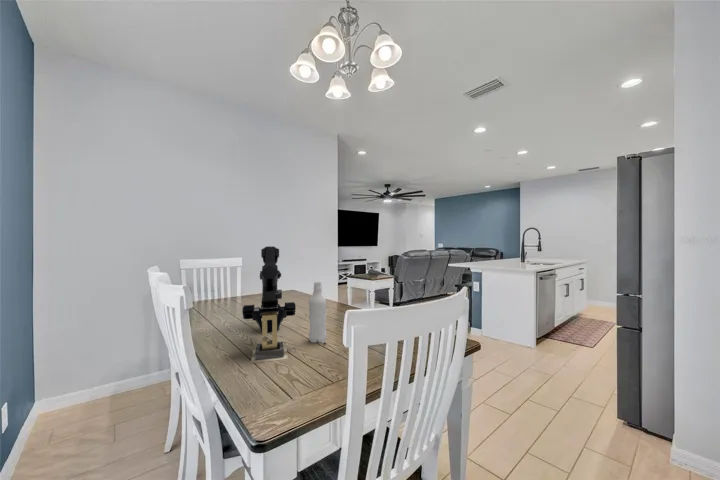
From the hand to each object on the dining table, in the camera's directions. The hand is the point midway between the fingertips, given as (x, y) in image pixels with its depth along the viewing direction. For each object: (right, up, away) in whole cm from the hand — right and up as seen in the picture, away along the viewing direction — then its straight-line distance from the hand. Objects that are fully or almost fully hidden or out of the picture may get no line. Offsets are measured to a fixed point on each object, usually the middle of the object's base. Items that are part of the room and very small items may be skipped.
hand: (269, 331), depth 101 cm
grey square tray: (0, -10, +1) cm, 10 cm away
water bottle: (+15, -10, +16) cm, 24 cm away
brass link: (0, -6, +1) cm, 6 cm away
